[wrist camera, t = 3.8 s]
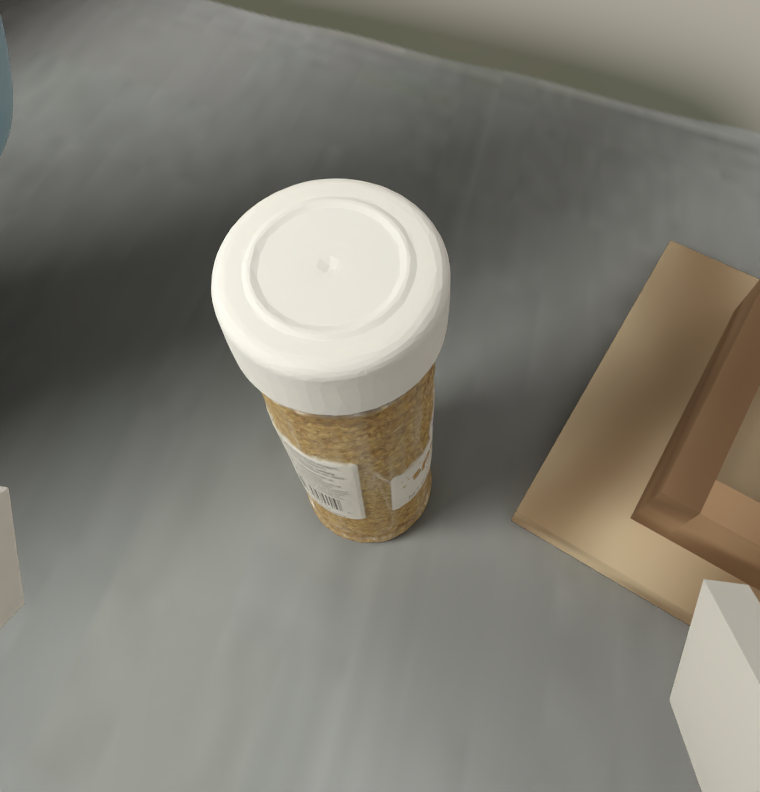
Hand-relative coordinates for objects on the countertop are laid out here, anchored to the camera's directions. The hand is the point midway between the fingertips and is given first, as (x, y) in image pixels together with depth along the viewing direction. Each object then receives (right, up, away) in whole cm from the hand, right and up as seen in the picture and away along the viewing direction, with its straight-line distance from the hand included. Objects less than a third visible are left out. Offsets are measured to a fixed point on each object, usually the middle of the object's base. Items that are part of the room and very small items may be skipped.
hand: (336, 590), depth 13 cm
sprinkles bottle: (0, 0, +12) cm, 12 cm away
